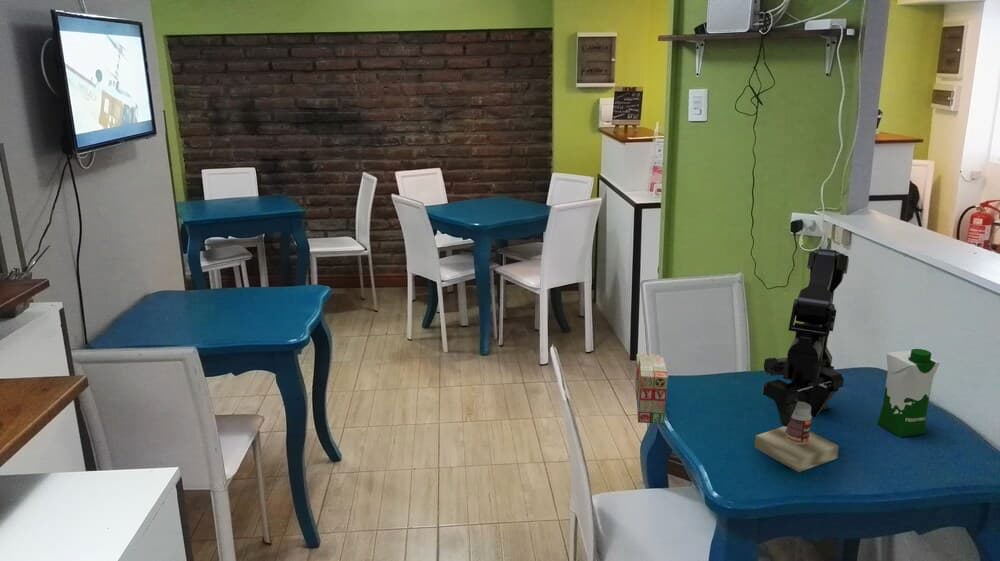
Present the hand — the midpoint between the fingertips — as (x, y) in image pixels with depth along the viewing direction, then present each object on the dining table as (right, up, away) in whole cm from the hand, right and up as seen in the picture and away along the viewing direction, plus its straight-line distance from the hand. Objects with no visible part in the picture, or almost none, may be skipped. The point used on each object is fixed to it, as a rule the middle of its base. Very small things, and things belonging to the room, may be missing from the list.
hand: (799, 421), depth 162 cm
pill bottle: (0, -5, +2) cm, 5 cm away
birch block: (0, -7, +2) cm, 8 cm away
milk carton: (+29, -4, +13) cm, 32 cm away
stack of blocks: (-27, -1, +26) cm, 38 cm away
